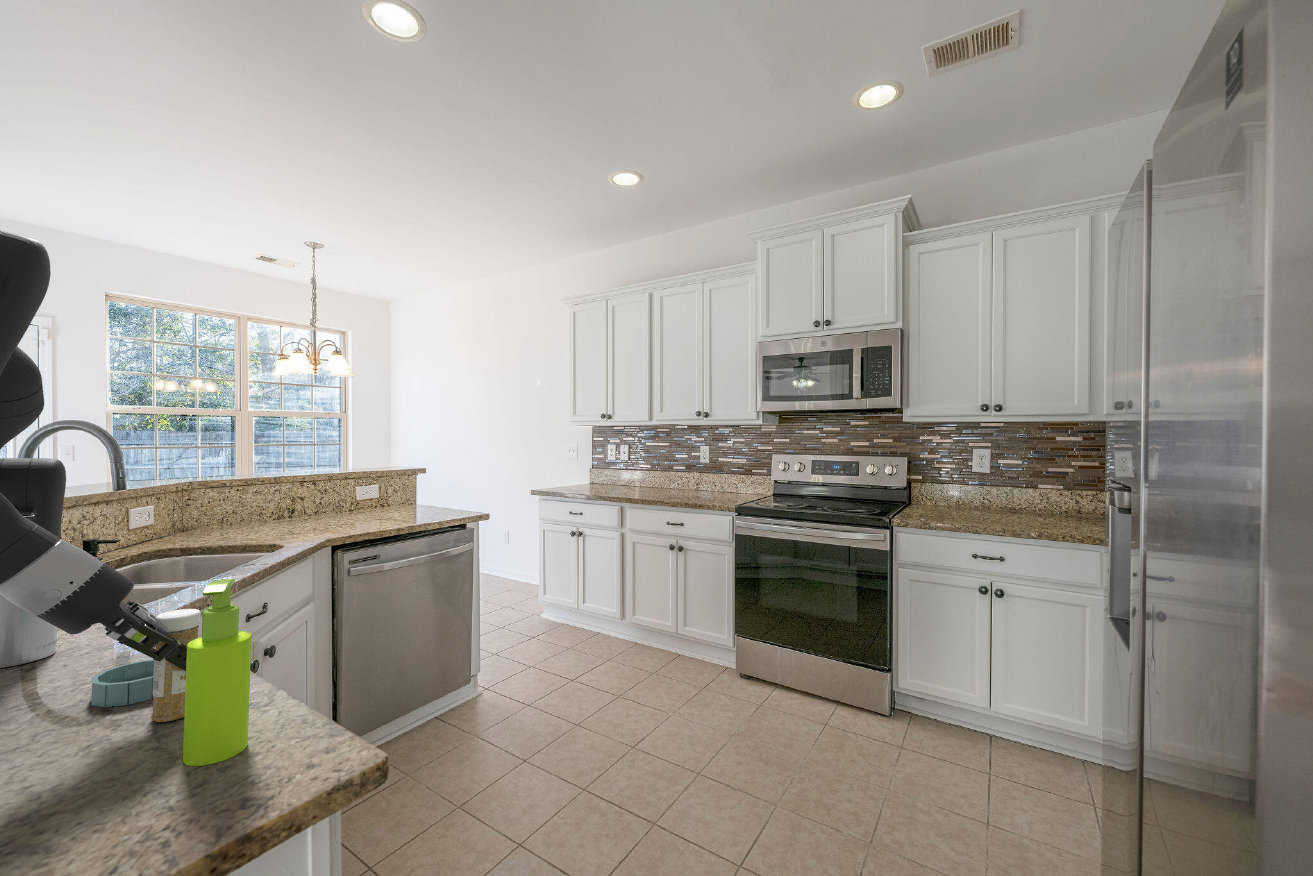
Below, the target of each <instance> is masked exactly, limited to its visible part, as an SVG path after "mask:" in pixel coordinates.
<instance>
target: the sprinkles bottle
mask: <svg viewBox="0 0 1313 876" xmlns="http://www.w3.org/2000/svg"><path fill="white" fill-rule="evenodd" d="M201 615H202V613H201V610H199V609H196V608H181V609H174V610H170V611H166V612H163V613H160V614H158V615H156V618H155V620H157V621H158V622H160V623H161V624H163V625H164V626H166V627H167V629H168V630H167V633H168V634H169V635H171V636H172V637H174V638H175V639H179V640H180V642H181V643H182V644H184V645H185V646H187V644H188V643H189V642H191V641H192V640H194V639H197V638H199V627H200V625H201V620H202V619H201V618H202V617H201ZM155 630H156V631H157V628H156V629H155ZM165 644H166V643H165V642H163V641H160V642H158V643H157V644H156V646H155V649H156V650H159V649H160V648H161V647H162V646H163V645H165ZM185 688H186V671H184V670H182V669H181V668H179V667H177V666H175V665H174V664H172V663H170V662H168V661H166V660H164V661H163V660H162V661H161V662H159V661H155V660H154V674H153V700H152V713H151V716H150V719H151V720H152V721H154V722H156V723H157V722H158V723H165V722H166V723H167V722H172V721H176V720H179V719H181V718H184V715H185Z"/></svg>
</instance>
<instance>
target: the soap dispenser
mask: <svg viewBox="0 0 1313 876" xmlns="http://www.w3.org/2000/svg"><path fill="white" fill-rule="evenodd" d="M235 582H236V579H235V578H226V579H215V580H212V581H211V582H209V583H208V584H207V586H205V588H204V589H203V591H202V596H204V597H205V596H206V597H207V596H212V602H211V606H209V607H208V608H207V609H204V610H203V611H202V614H201V615H202V617H201V618H202V619H201V620H202V621H201V622H202V623H201V637H200V636H199V637H198V638H197V639H194V640H192V641H191V642H189V643H188V644H187V661H186V688H185V715H184V717H183V718H184V721H183V744H182V745H183V746H182V762H183V764H185V765H186V766H190V767H203V766H209V765H213V764H218V763H221V762H223V761H226V760H228V759H231V758H234V756H235V757H236V756H237V755H238V754H241V753H242V752H243V751H244V750H245V749H246V747H248V744H249V743H248V742H249V714H250V713H249V712H250V687H251V686H250V685H251V662H252V661H251V657H252V654H251V653H252V633H251V632H249V631H242V630H239V629H240V606H238V605H235V604H234V603H231V599H232V586H233V585H234V584H236V583H235Z"/></svg>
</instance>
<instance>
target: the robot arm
mask: <svg viewBox="0 0 1313 876" xmlns="http://www.w3.org/2000/svg"><path fill="white" fill-rule="evenodd" d="M50 279H51V261H50V256H49V253H48V251H47V248H46V247H45V246H44V244H43V243H41V242H40V241H39V240H36V239H34V238H31V237H28V236H24V235H20V234H16V233H13V232H8V231H4V230H0V451H1V450H2V448H3V447H5V445H7V444H9V442H10V441H12V440H13V439H15V438H16V437H18V436H19V435H20V434H21V433H23V432H24V431H25V430H27V429H28V428H29V427H30V426H31V425H32V424H34V422H36V420H37V419H38V418H39V417H40V416H41V414H42V412H44V408H45V397H44V395H45V394H44V386H43V377H42V374H41V371H40V368H39V366H37V363H35V362H34V360H33V359H32V358H31V357H30V356H29V355H28V354H27V353H26V352H25V350H22V349H21V348H20V347H19V346H18V345H20V342H21V341H22V339H23V337H24V336H25V334H26V333H27V331H28V329H29V327H30V324H31V323H32V322H33V319H34V318H35V316H36V314H37V312H38V311H39V308H40V307H41V305H42V303H43V302H44V299H45V297H46V294H47V293H48V292H47V291H48V290H49V285H50ZM66 486H67V471H66V467H65V465H64V463H63V462H62V461H61V460H60V459H57V458H48V457H47V458H45V457H44V458H43V457H42V458H40V457H39V458H37V457H36V458H35V457H34V458H32V457H30V458H28V457H23V458H21V457H19V458H18V457H7V458H4V457H2V458H1V457H0V669H1V668H8V667H13V666H18V665H23V664H27V663H32V662H35V661H40V660H42V659H46V658H48V657H50V656H52V655H54V654H55V653H56V652H57V643H58V642H57V641H58V629H60V630H61V631H63V632H65V633H67V634H69V635H78V634H80V633H83V632H85V631H87V630H89V629H90V628H91V627H92V626H93V625H95V624H101V625H103V627H104V630H105V631H106V632H105V635H106V636H107V637H109V638H111V639H112V640H114V641H116V642H118V644H120V645H124V646H127V647H129V648H131V649H133V650H134V651H136V652H138V653H141V654H143V655H145V656H147V657H149V658H151V659H154V660H155V661H159V662H161V661H162V660H163V661H164V660H166V661H168V662H170V663H172V664H174V665H175V666H177V667H179V668H181V669H182V670H184V671H186V661H187V646H185V645H184V644H182V643H181V642H180V640H179V639H175V638H174V637H172V636H171V635H169V634H168V633H167V630H168V629H167V627H166V626H164V625H163V624H161V623H160V622H158V621H157V620H155V618H156V616H157V614H154V613H152V612H150V611H149V609H147V607H145V605H143V604H141V603H139V602H137V601H136V602H135V601H131V600H128V601H127V602H125V601H123V600H125V599H126V598H127V597H128V596H129V595H130V593H132V591H133V589H134V587H135V582H134V580H132V579H130V578H129V577H128V576H126V575H124V574H123V573H121V572H119V571H118V570H116V569H114V568H112V567H111V566H110V565H108V564H106V563H105V562H103V561H102V560H100V559H99V558H97V557H96V556H94V555H92V554H90V553H89V552H87V551H86V550H83V548H81V547H77V546H76V545H74V544H71V543H70V542H67V541H65V540H63V539H62V524H63V523H62V521H63V519H62V518H63V511H64V501H65V493H66V489H67V488H66ZM22 514H33V515H34V516H33V519H32V520H31V519H28V518H27V517H25V516H24V515H22ZM156 628H157V631H156V630H155V629H156ZM160 641H163V642H165V643H166V644H165V645H163V646H162V647H161V648H160V649H159V650H156V649H155V646H156V644H157V643H158V642H160Z"/></svg>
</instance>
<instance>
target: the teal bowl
mask: <svg viewBox="0 0 1313 876" xmlns="http://www.w3.org/2000/svg"><path fill="white" fill-rule="evenodd" d="M153 674H154V659H153V658H151V659H144V660H139V661H134V662H129V663H124V664H121V665H118V666H115V667H112V668H109V669H106V670H103V671H101V672H99V673H98V674H95V675H94V676H93V677H91V679H90V680H91V684H90V685H91V686H90V687H91V688H90V705H91V706H92V707H93V706H94V707H99V708H111V707H112V706H114V707H122V706H128V705H133V704H138V703H141V702H146V701H149V699H151V700H152V699H153Z"/></svg>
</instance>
